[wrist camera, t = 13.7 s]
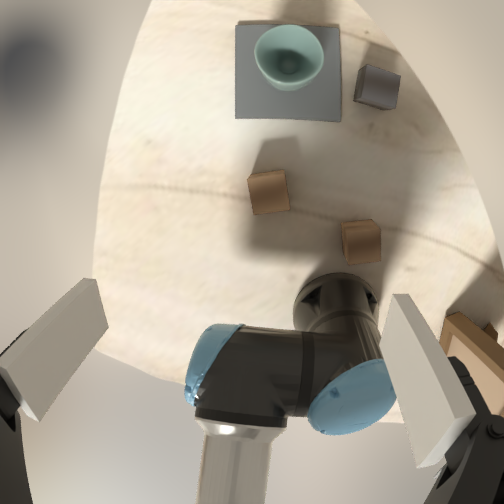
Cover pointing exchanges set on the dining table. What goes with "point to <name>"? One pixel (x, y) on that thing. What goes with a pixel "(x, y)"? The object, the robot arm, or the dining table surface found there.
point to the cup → (289, 57)
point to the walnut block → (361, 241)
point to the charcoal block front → (377, 88)
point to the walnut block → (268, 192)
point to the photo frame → (477, 356)
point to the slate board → (279, 102)
